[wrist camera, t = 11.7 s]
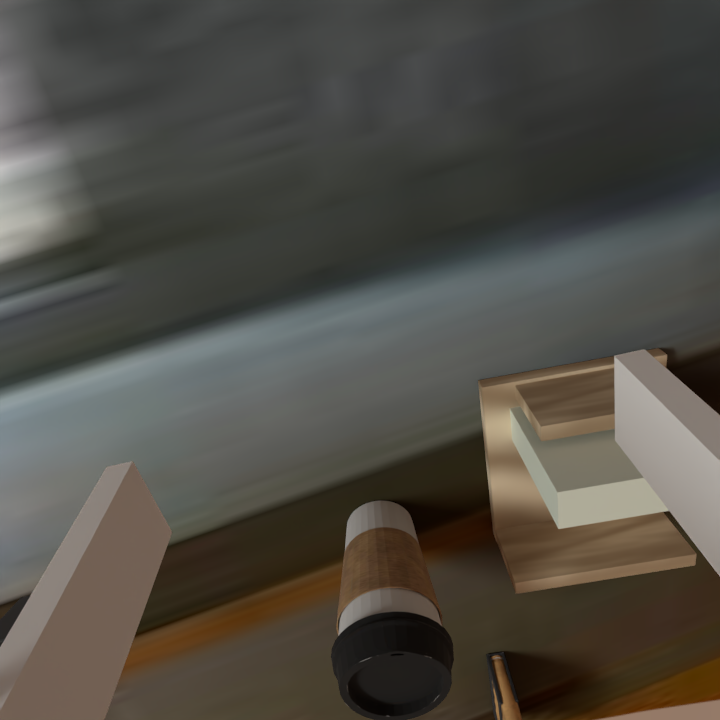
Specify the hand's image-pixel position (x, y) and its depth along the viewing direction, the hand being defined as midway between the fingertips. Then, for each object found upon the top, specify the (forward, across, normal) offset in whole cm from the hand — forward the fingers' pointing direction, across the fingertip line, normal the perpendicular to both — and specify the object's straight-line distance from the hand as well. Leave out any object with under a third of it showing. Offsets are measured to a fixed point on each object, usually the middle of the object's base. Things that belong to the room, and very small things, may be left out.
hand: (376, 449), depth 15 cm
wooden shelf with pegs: (+24, +13, -22) cm, 35 cm away
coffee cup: (+24, -4, -26) cm, 36 cm away
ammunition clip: (+23, +4, -52) cm, 57 cm away
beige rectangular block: (+23, +14, -18) cm, 32 cm away
